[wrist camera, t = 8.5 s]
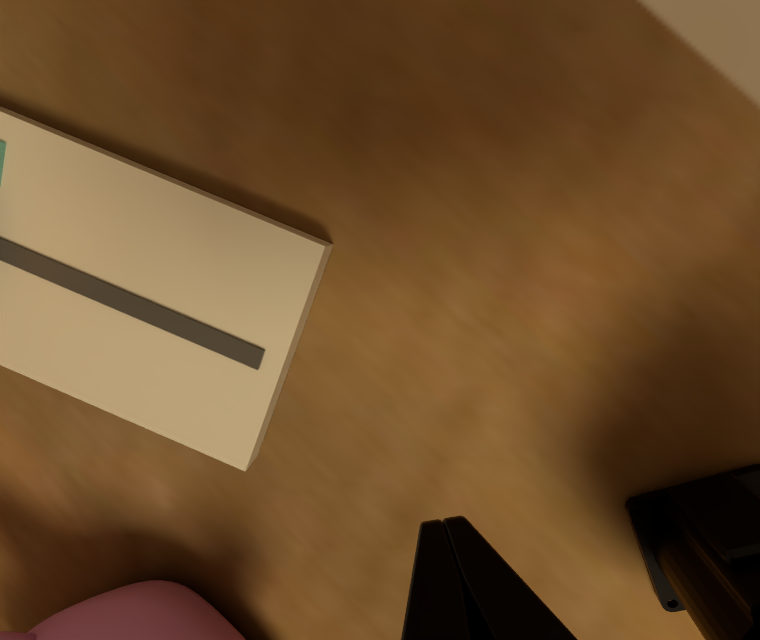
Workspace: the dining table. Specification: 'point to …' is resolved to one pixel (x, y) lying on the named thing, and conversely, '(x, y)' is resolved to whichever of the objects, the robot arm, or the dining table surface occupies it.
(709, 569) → the robot arm
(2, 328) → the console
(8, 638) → the teapot
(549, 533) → the dining table surface
